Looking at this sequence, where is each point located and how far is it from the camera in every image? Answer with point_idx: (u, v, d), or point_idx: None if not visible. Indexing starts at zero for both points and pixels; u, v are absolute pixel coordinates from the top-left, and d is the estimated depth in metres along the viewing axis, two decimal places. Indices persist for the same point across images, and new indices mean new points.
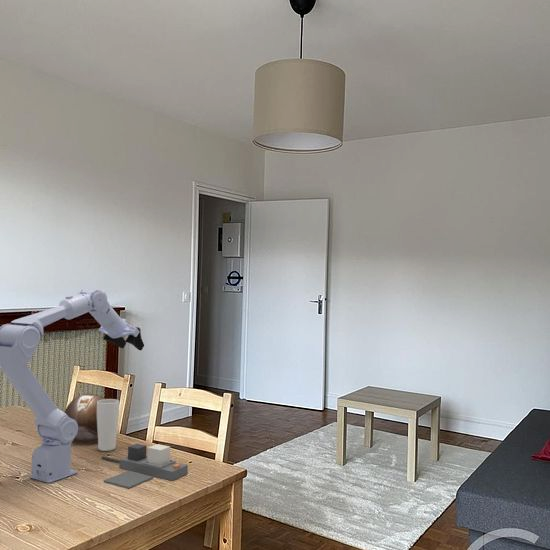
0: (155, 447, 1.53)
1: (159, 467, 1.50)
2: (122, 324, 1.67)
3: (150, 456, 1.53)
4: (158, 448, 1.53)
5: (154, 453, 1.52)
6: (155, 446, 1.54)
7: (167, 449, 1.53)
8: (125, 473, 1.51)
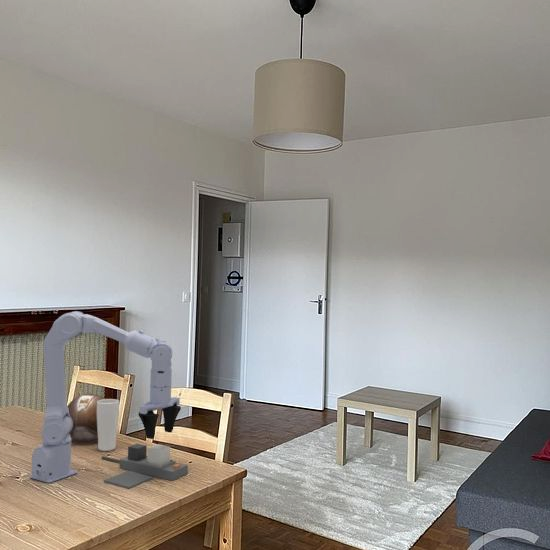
0: (155, 447, 1.53)
1: (159, 467, 1.50)
2: (156, 398, 1.51)
3: (150, 456, 1.53)
4: (158, 448, 1.53)
5: (154, 453, 1.52)
6: (155, 446, 1.54)
7: (167, 449, 1.53)
8: (125, 473, 1.51)
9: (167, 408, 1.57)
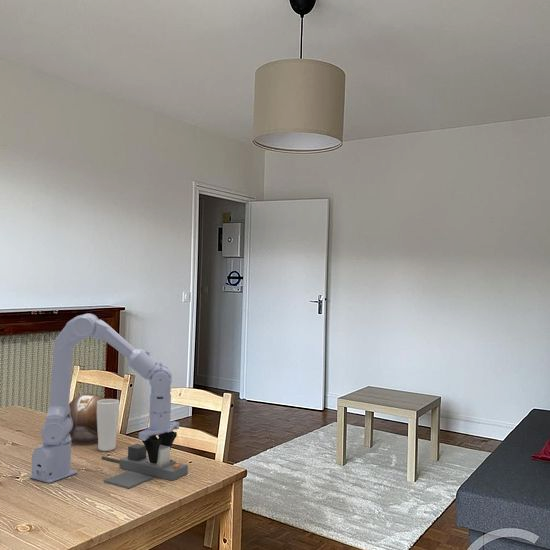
0: None
1: (159, 467, 1.50)
2: (155, 424, 1.51)
3: None
4: None
5: None
6: None
7: (167, 449, 1.53)
8: (125, 473, 1.51)
9: (163, 434, 1.56)
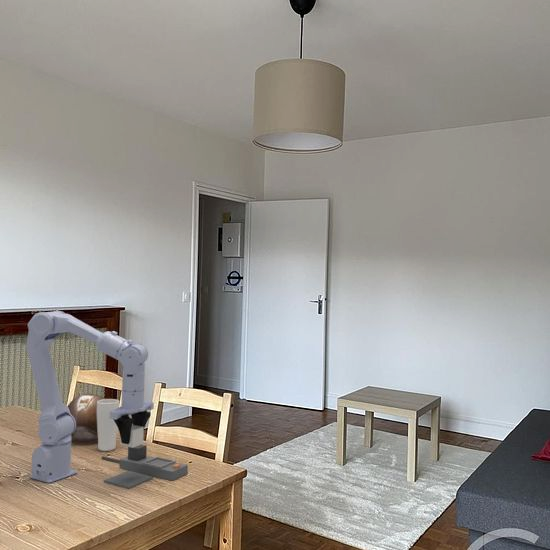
0: None
1: (159, 467, 1.50)
2: (127, 403, 1.45)
3: None
4: (131, 428, 1.46)
5: None
6: None
7: (140, 429, 1.47)
8: (125, 473, 1.51)
9: (136, 414, 1.50)
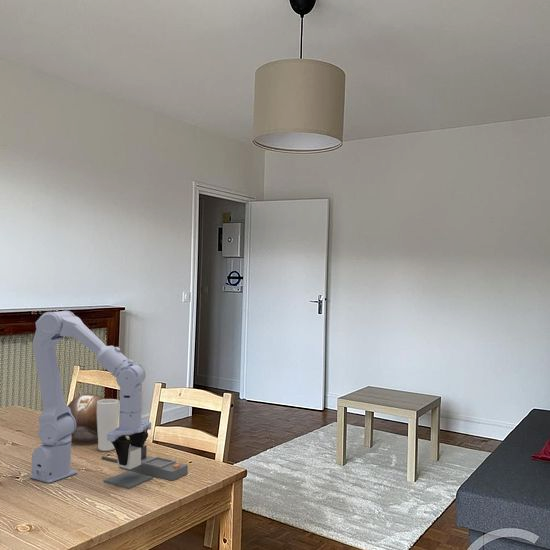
0: None
1: (159, 467, 1.50)
2: (124, 424, 1.44)
3: None
4: None
5: None
6: None
7: (138, 450, 1.47)
8: (125, 473, 1.51)
9: (134, 435, 1.49)
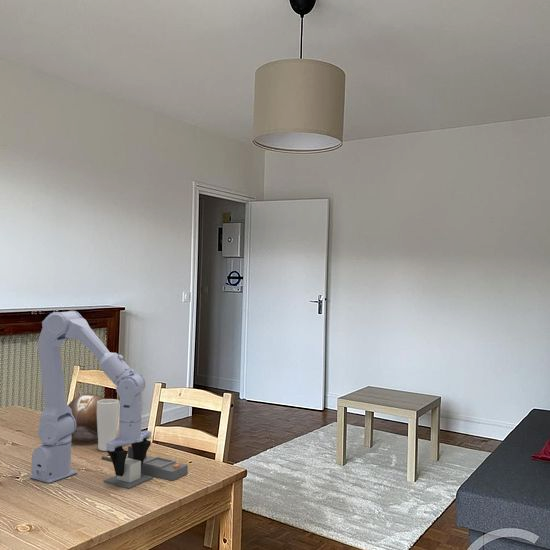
0: None
1: (159, 467, 1.50)
2: (124, 434, 1.44)
3: None
4: (128, 462, 1.46)
5: (124, 467, 1.45)
6: (125, 460, 1.48)
7: (137, 463, 1.47)
8: None
9: (136, 443, 1.50)
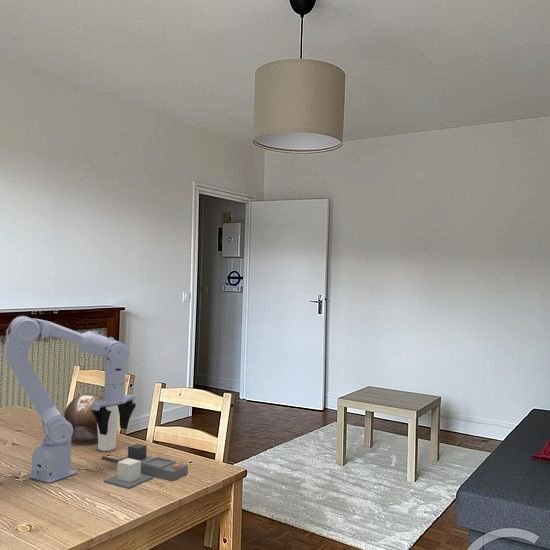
0: (124, 462, 1.46)
1: (159, 467, 1.50)
2: (109, 395, 1.55)
3: (119, 471, 1.46)
4: (128, 462, 1.46)
5: (124, 467, 1.45)
6: (125, 460, 1.48)
7: (137, 463, 1.47)
8: None
9: (122, 405, 1.61)
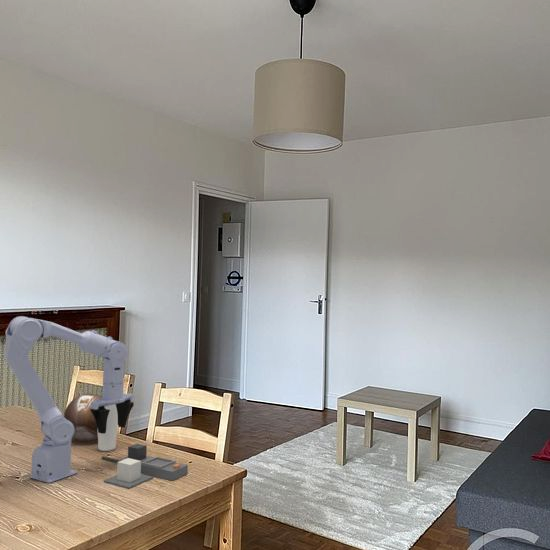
0: (124, 462, 1.46)
1: (159, 467, 1.50)
2: (107, 394, 1.57)
3: (119, 471, 1.46)
4: (128, 462, 1.46)
5: (124, 467, 1.45)
6: (125, 460, 1.48)
7: (137, 463, 1.47)
8: None
9: (120, 404, 1.63)
